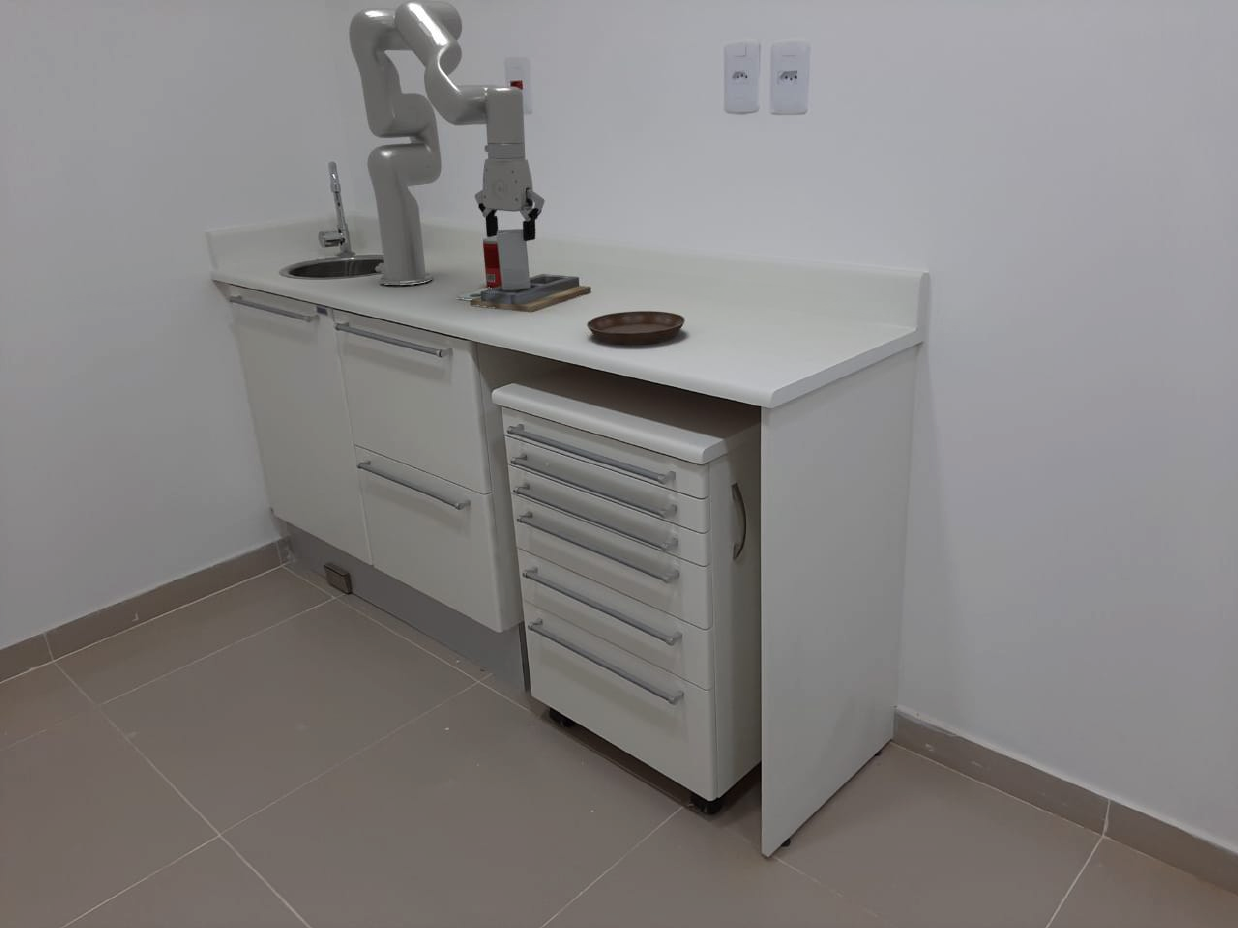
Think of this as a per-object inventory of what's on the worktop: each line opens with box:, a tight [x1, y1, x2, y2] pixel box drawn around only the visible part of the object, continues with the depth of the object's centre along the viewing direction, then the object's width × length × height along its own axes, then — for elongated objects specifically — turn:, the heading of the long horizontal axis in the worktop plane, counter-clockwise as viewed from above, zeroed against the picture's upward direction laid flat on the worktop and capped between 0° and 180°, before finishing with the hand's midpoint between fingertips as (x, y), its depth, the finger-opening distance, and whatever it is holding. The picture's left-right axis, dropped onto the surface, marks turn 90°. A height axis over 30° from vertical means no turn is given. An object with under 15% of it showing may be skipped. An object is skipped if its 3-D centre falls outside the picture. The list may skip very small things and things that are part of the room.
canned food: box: [482, 236, 502, 289], centre depth 222 cm, size 8×8×11 cm
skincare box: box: [497, 228, 531, 290], centre depth 202 cm, size 6×4×12 cm
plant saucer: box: [586, 310, 685, 346], centre depth 175 cm, size 18×18×3 cm
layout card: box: [455, 287, 489, 299], centre depth 214 cm, size 7×10×1 cm
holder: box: [469, 273, 592, 313], centre depth 209 cm, size 16×22×3 cm
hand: (510, 238), depth 201 cm, fingers open, 9 cm apart
